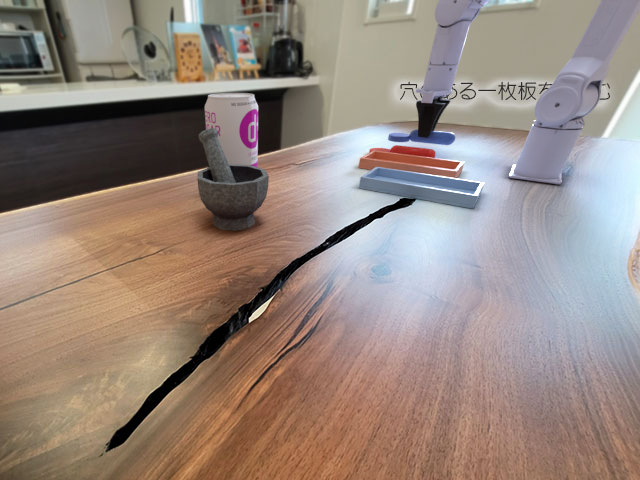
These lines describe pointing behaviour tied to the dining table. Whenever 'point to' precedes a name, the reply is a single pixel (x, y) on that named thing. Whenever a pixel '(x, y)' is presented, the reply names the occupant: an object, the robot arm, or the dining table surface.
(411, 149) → the red spoon
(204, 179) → the mortar and pestle
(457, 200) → the blue tray
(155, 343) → the dining table surface
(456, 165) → the red tray
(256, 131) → the white soda can
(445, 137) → the blue spoon
